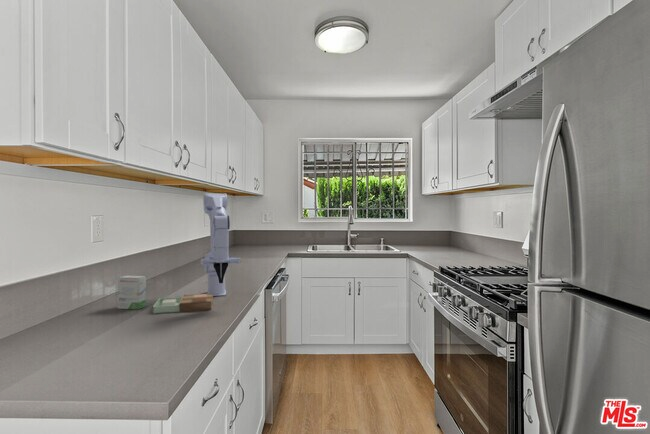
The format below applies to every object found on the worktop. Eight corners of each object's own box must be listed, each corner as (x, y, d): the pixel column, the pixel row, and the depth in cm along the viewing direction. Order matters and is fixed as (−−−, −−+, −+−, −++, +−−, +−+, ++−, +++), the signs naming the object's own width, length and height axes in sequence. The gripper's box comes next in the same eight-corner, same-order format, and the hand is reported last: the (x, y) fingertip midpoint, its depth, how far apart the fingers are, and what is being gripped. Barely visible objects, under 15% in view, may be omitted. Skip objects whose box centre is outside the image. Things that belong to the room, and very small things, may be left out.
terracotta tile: (194, 298, 139) (194, 294, 139) (207, 298, 140) (207, 294, 140) (193, 301, 135) (193, 297, 135) (206, 301, 136) (206, 296, 136)
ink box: (117, 309, 136) (116, 277, 136) (126, 305, 141) (125, 274, 141) (139, 309, 135) (138, 278, 135) (147, 306, 140) (146, 275, 140)
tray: (159, 304, 143) (159, 298, 143) (183, 302, 145) (183, 296, 145) (152, 313, 130) (152, 306, 130) (179, 311, 133) (179, 305, 133)
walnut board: (183, 302, 145) (183, 295, 145) (212, 300, 148) (212, 293, 148) (179, 311, 133) (179, 303, 133) (211, 309, 135) (211, 301, 135)
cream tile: (176, 299, 143) (176, 303, 143) (164, 299, 142) (164, 303, 142) (174, 301, 139) (174, 306, 139) (161, 302, 138) (161, 306, 138)
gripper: (199, 248, 133) (200, 285, 134) (240, 247, 137) (240, 283, 137) (201, 246, 140) (201, 282, 140) (240, 245, 144) (240, 280, 144)
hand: (221, 282), depth 139 cm, fingers closed
